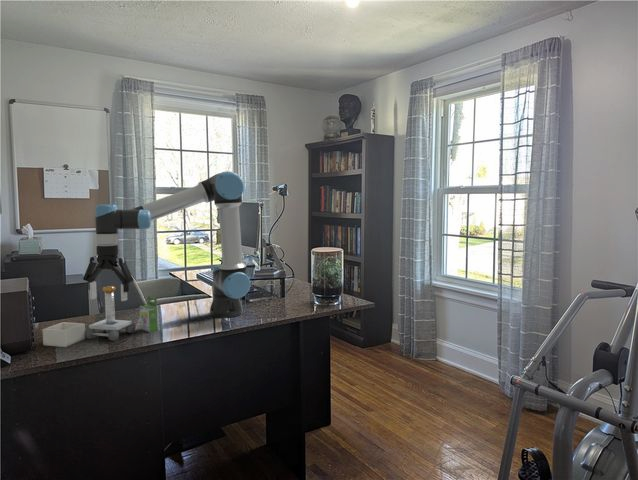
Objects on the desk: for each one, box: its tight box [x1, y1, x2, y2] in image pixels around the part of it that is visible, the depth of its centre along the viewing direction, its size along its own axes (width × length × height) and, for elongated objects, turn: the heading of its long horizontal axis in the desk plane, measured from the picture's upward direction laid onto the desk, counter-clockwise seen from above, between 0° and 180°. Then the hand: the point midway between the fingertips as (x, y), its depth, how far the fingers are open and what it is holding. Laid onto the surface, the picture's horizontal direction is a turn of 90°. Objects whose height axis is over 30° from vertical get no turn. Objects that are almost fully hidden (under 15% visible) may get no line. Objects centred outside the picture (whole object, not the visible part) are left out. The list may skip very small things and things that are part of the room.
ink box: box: [139, 295, 159, 333], centre depth 178 cm, size 7×4×13 cm, turn 50°
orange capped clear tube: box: [102, 285, 116, 338], centre depth 170 cm, size 4×4×19 cm
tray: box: [42, 321, 87, 348], centre depth 163 cm, size 10×10×6 cm
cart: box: [85, 318, 136, 342], centre depth 171 cm, size 12×14×5 cm
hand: (108, 299), depth 169 cm, fingers open, 13 cm apart
